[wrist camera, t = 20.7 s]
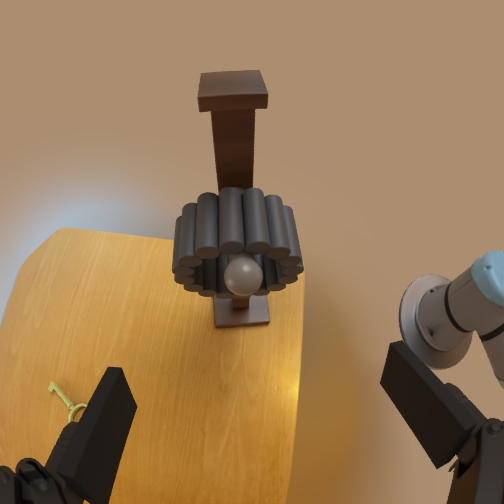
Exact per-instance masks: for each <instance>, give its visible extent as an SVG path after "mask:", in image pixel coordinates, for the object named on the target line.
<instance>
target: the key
mask: <svg viewBox="0 0 504 504" xmlns="http://www.w3.org/2000/svg"><path fill="white" fill-rule="evenodd" d="M50 384H51V385H50V386H49V388H48V390H50V393H52V392H53V390H54V389H55V391H56V392H57V393H58V395H59V396H60V397H61V398H62V400H63V401H64V402H65V403H66V404H67V408H68V409H71V412H70V414H69V417H68V422H69V423H70V422H71V421H73V417H74V415H75V413H76V411H77V410H78V409H79V408H80V407H83V406H85V407H87V405H88V404H86V403H80V404H78V405H76V406H74V403H73V402H70V400H69V399H68V398H67V397H66V396H65V394H64V393H63V392H62V391H61V389H60V388H59V387H58V385H57V384H56V383H55V382H54V381H52V382H51V383H50Z"/></svg>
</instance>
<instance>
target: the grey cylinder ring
mask: <svg viewBox="0 0 504 504" xmlns="http://www.w3.org/2000/svg"><path fill="white" fill-rule="evenodd" d="M244 249H245V250H246V252H247V253H249V254H253V255H255V262H257V263H258V265H259V266H260V268H261V270H262V274H263V279H262V283H261V286H260V287H259V289H258V290H257V291H256V292H254V293H253V294H251V295H247V296H239V295H236V294H234V293H232V292H231V291H230V290H229V289H228V288H227V286H226V284H225V281H224V272H225V269H226V267H227V265H228V264H229V263H228V254H230V255H233V254H238V253H241V252H242V251H243V250H244ZM303 271H304V267H303V261H302V256H301V250H300V245H299V240H298V234H297V229H296V224H295V220H294V215H293V210H292V208H291V207H289V206H283V204H282V199H281V198H280V197H279V196H277V195H268V196H265V197H264V193H263V192H262V190H260V189H257V188H249V189H246V190H245V191H243V193H242V195H241V192H240V191H239V190H238V189H237V188H234V187H226V188H223V189H222V190H221V191H220V192H219V195H218V196H217V195H216V194H214V193H210V192H207V193H203V194H201V195H200V196H199V197H198V200H197V203H188V204H186V205H185V206H184V207H183V210H182V216H180V217H178V218H177V220H176V226H175V238H174V249H173V262H172V272H173V273H174V274H175V277H174V280H175V282H176V283H178V284H183V285H184V289H185V290H187V291H190V292H198V294H199V295H201V296H204V297H211V296H216V298H218V299H230V298H232V297H233V296H234V297H235V298H237V299H247V298H250V297H251V296H252V295H254V296H264V295H267V294H269V292H270V291H280V290H283V289H284V288H285V287H286V284H290V283H294V282H295V281H297V279H298V277H297V275H298V274H300V273H302V272H303Z"/></svg>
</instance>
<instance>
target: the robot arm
mask: <svg viewBox="0 0 504 504" xmlns="http://www.w3.org/2000/svg"><path fill="white" fill-rule="evenodd" d="M416 322H417V327H418V330H419V333H420V335H421V337H422V339H423V340H424V341H425V343H426V344H427V345H428V346H429V347H430V348H432V349H434V350H436V351H439V352H446V351H450V350H452V349H454V348H456V347H457V346H459V345H460V344H461V343H462V341H463V340H464V339H465V338H466V337H467V336H468V335H469V334H470V333H471V332H472V331H474V330H476V331H477V333H478V335H479V337H480V339H481V342H482V344H483V346H484V348H485V351H486V353H487V355H488V358H489V360H490V363H491V365H492V368H493V370H494V374H495V376H496V378H497V379H498V381H499V383H500V385H501V386H502V388H504V252H501V251H499V250H492V251H489V252H487V253H486V254H485V255H483V256H482V257H481V258H479V259H477V260H476V261H475V262H474V263H473V264H472V266H471V267H470V268H468V269H467V270H466V271H465V272H463V273H462V274H461V275H460V276H458V277H457V278H456V279H455V280H453V281H452V282H451V283H448V284H443V285H438V286H435V287H432V288H431V289H429V290H428V291H426V292H425V293H424V294H423V295H422V296H421V298H420V300H419V302H418V305H417V309H416ZM380 384H381V386H382V387H383V388H384V390H385V391H386V393H387V394H388V396H389V397H390V399H391V400H392V402H393V403H394V405H395V406H396V408H397V409H398V411H399V412H400V414H401V415H402V417H403V418H404V420H405V421H406V423H407V424H408V426H409V427H410V429H411V430H412V432H413V433H414V434H415V436H416V438H417V439H418V441H419V442H420V444H421V445H422V447H423V448H424V450H425V451H426V453H427V455H428V456H429V458H430V459H431V461H432V462H433V464H434V466H435V467H436V469H438V468H440V467H442V466H443V465H445V464H447V463H449V462H450V461H451V460H452V458H453V457H454V456H455V455H457V457H458V459H457V460H456V461H455V462H454V464H453V465H452V466H451V467H450V469H449V472H451V470H452V469H453V468H454V467H455V470H454V471H453V472H454V475H453V480H452V484H451V489H450V493H449V496H448V500H447V504H504V421H500V420H499V419H495V418H490V419H487V418H486V417H485V416H484V415H483V414H482V413H481V412H480V411H479V410H478V409H477V408H476V406H475V405H474V404H473V403H472V402H471V401H470V400H468V398H467V397H466V396H465V395H463V393H462V391H461V390H460V389H459V388H458V387H456V386H455V385H453V384H451V383H446V384H443V383H442V382H441V381H440V379H439V378H438V377H437V376H436V375H435V374H434V373H433V372H432V371H431V370H430V369H429V368H428V367H427V366H426V365H425V364H424V362H423V361H422V360H421V359H420V358H419V357H418V356H417V355H416V354H415V353H414V352H413V351H412V350H411V349H410V348H409V347H408V346H407V345H406V344H405V343H404V342H403V341H402V340H401V341H397V342H393V343H390V345H389V350H388V354H387V358H386V362H385V366H384V370H383V374H382V377H381V381H380ZM136 409H137V405H136V402H135V400H134V398H133V395H132V393H131V390H130V388H129V386H128V383H127V380H126V378H125V375H124V373H123V370H122V368H119V367H108V368H107V370H106V372H105V373H104V375H103V377H102V379H101V381H100V382H99V384H98V386H97V388H96V390H95V392H94V393H93V395H92V397H91V399H90V401H89V403H88V405H87V407H86V409H85V411H84V413H83V415H82V417H81V418H80V420H79V422H78V423H77V422H73V421H71V422H70V423H69V424H68V425H66V426H65V427H64V428H63V430H62V432H61V434H60V436H59V437H60V438H58V440H57V442H56V445H55V446H54V448H53V450H52V452H51V454H50V456H49V458H48V460H47V463H46V465H45V467H43V466H42V465H41V464H40V463H39V462H38V461H37V460H35V459H33V458H24V459H22V460H20V462H19V463H18V464H17V466H16V474H15V473H14V472H13V471H12V470H11V469H10V468H9V467H7V466H0V504H83V502H84V499H85V500H86V501H87V502H89V503H90V504H109V500H110V496H111V492H112V488H113V485H114V481H115V477H116V474H117V470H118V467H119V463H120V460H121V457H122V453H123V450H124V447H125V443H126V440H127V437H128V434H129V431H130V428H131V425H132V421H133V418H134V415H135V412H136Z"/></svg>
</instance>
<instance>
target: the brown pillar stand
mask: <svg viewBox="0 0 504 504" xmlns="http://www.w3.org/2000/svg"><path fill="white" fill-rule="evenodd" d="M267 105H268V92H267V90H266V87H265V84H264V81H263V78H262V75H261V73H260V71H259V70H249V71H248V70H247V71H225V72H212V73H202V74H201V77H200V84H199V91H198V106H199V112H208V111H211V121H212V132H213V143H214V153H215V162H216V173H217V182H218V191H219V192H220V191H221V190H222V189H223V188H226V187H234V188H237V189H238V190H239V191H240V192H241V195H242V193H243V191H245V190H246V189H249V188H253V166H254V165H253V164H254V133H255V132H254V131H255V109H266V108H267ZM228 263H229V264H228V265H227V267H226V269H225V272H224V281H225V284H226V286H227V288H228V289H229V290H230V291H231V292H232V293H234V294H236V295H239V296H247V295H251V294H253V293H254V292H256V291H257V290H258V289H259V287H260V286H261V283H262V279H263V274H262V270H261V268H260V266H259V265H258V263H257V262H255V255H253V254H249V253H247V252H246V250H245V249H244V250H243V251H242V252H241V253H238V254H233V255H230V254H228ZM214 312H215V326H216V328H219V327H233V326H245V325H256V324H267V323H270V317H269V309H268V301H267V295H264V296H254V295H252V296H251V297H250V298H247V299H237V298H235V297H234V296H233V297H232V298H230V299H218V298H216V296H214Z"/></svg>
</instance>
